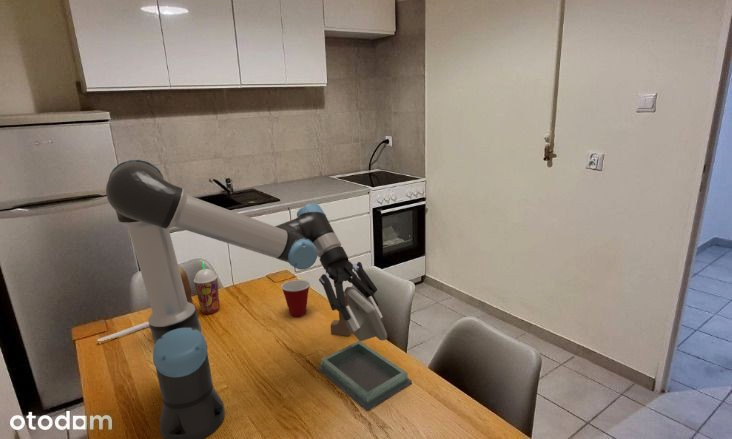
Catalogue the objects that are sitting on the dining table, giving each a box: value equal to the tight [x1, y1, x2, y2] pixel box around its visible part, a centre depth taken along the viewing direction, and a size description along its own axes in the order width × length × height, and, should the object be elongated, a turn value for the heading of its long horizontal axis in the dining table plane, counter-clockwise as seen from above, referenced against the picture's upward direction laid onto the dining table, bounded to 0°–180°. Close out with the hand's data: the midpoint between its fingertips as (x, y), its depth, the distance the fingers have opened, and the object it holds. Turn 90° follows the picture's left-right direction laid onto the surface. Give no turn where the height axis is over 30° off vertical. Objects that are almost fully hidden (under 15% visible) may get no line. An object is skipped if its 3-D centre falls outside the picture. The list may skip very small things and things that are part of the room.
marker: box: [96, 321, 150, 341], centre depth 149 cm, size 18×2×2 cm, turn 132°
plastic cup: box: [280, 279, 311, 318], centre depth 157 cm, size 11×11×12 cm
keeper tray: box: [317, 340, 413, 412], centre depth 121 cm, size 16×23×4 cm
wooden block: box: [330, 290, 352, 337], centre depth 142 cm, size 7×3×15 cm, turn 74°
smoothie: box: [193, 261, 220, 315], centre depth 160 cm, size 8×8×20 cm
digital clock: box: [344, 286, 388, 342], centre depth 116 cm, size 16×9×11 cm, turn 16°
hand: (368, 324), depth 114 cm, fingers closed on digital clock, 7 cm apart
